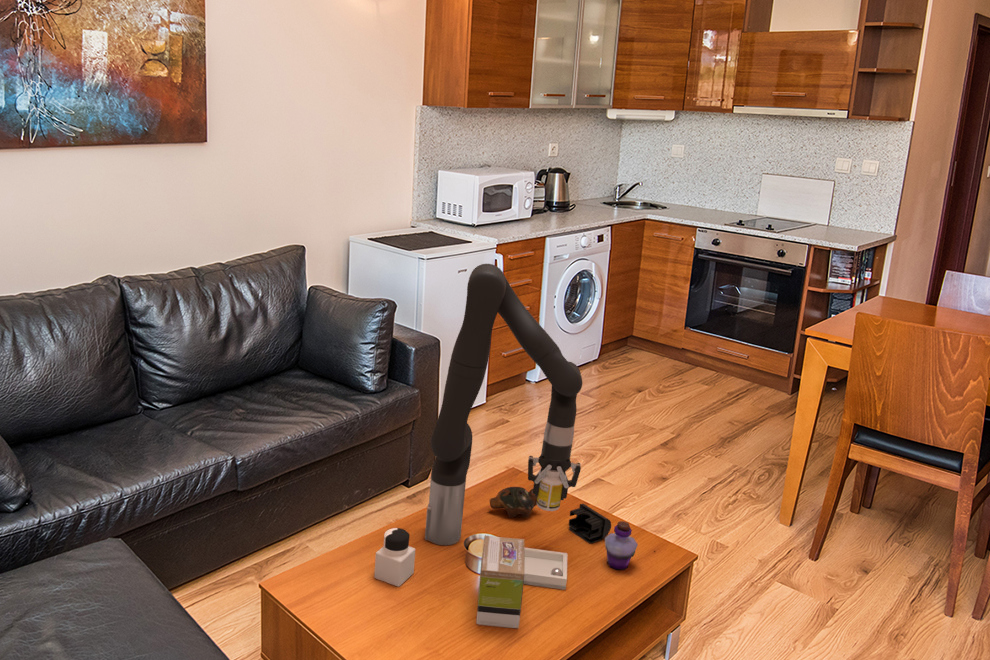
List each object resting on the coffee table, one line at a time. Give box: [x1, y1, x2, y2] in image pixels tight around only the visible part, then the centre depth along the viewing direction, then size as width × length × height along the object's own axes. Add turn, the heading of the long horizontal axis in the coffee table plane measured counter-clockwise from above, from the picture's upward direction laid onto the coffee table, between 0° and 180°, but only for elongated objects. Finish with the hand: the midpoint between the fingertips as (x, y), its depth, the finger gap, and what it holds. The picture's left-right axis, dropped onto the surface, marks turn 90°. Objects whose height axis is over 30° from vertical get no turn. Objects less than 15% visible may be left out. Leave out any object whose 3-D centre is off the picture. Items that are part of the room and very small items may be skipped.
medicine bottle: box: [374, 527, 416, 587], centre depth 203 cm, size 7×7×12 cm
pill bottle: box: [536, 470, 563, 512], centre depth 219 cm, size 6×6×11 cm
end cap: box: [568, 503, 612, 545], centre depth 233 cm, size 10×7×7 cm
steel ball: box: [551, 568, 563, 576], centre depth 208 cm, size 3×3×3 cm
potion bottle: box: [604, 520, 639, 571], centre depth 218 cm, size 9×9×12 cm
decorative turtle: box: [489, 486, 537, 519], centre depth 239 cm, size 10×15×8 cm, turn 102°
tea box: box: [475, 535, 525, 629], centre depth 194 cm, size 15×10×15 cm
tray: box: [523, 547, 568, 591], centre depth 212 cm, size 14×12×3 cm
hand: (549, 496), depth 220 cm, fingers closed on pill bottle, 6 cm apart
